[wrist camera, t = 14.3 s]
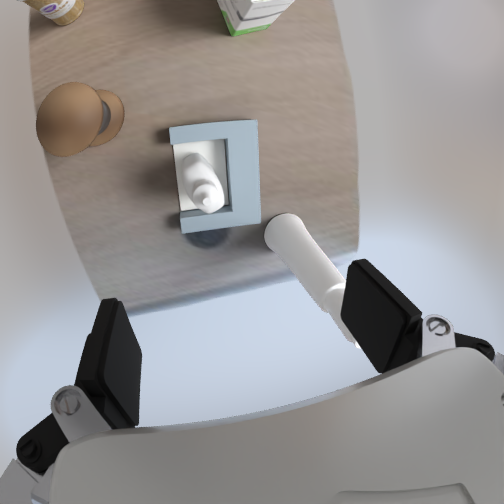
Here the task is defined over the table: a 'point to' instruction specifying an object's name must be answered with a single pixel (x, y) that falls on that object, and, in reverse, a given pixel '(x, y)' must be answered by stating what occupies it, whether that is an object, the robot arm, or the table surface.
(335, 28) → the table surface
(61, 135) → the spool
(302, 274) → the cosmetic bottle
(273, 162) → the table surface
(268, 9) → the ink box
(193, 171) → the eye dropper bottle
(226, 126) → the notched board
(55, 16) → the sprinkles bottle
